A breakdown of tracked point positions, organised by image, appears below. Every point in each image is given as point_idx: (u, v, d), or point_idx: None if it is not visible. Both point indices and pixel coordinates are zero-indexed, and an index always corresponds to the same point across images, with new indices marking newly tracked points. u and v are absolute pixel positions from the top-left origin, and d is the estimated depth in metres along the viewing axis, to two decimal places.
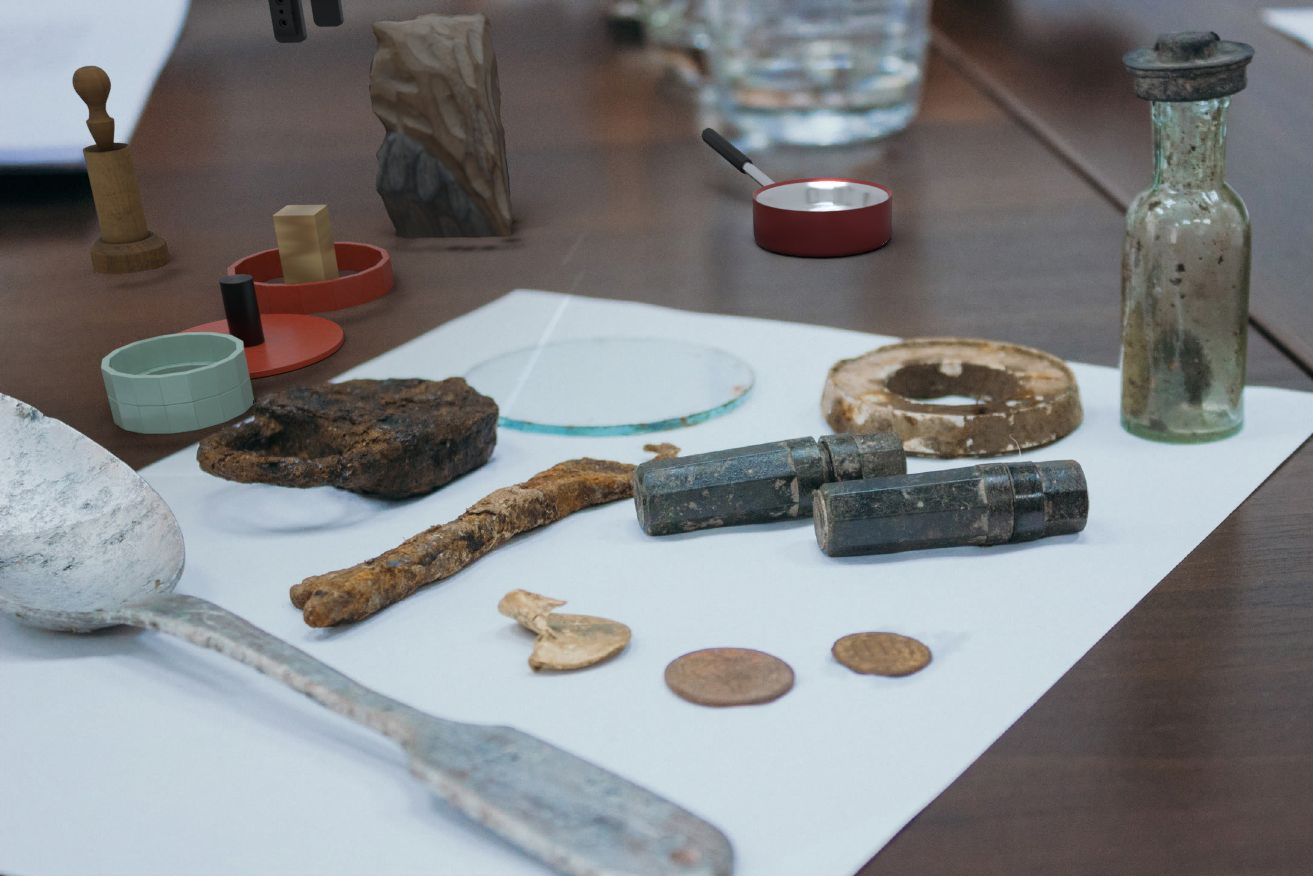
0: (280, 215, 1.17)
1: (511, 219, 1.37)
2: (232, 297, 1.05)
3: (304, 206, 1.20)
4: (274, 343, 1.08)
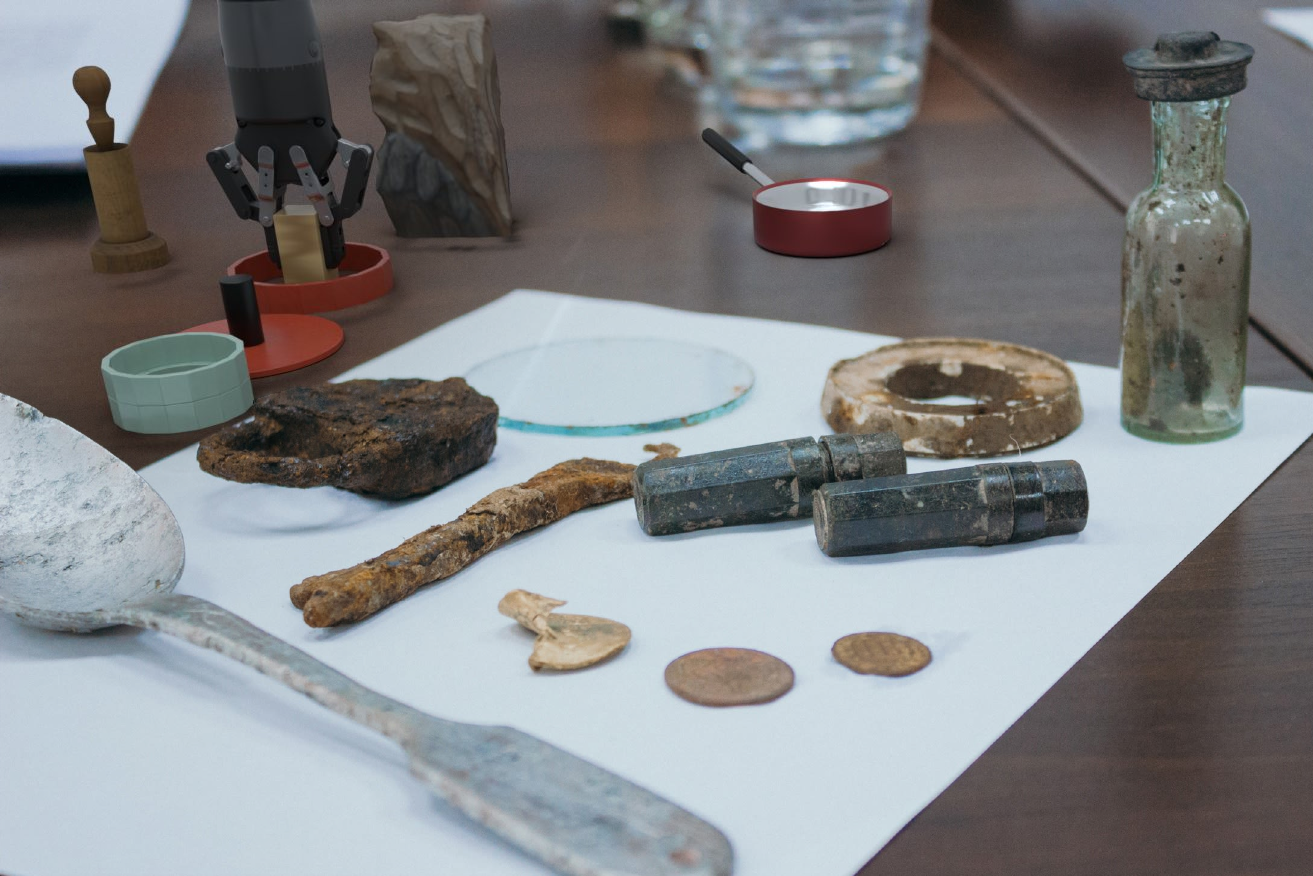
0: (280, 215, 1.17)
1: (511, 219, 1.37)
2: (232, 297, 1.05)
3: (304, 206, 1.20)
4: (274, 343, 1.08)
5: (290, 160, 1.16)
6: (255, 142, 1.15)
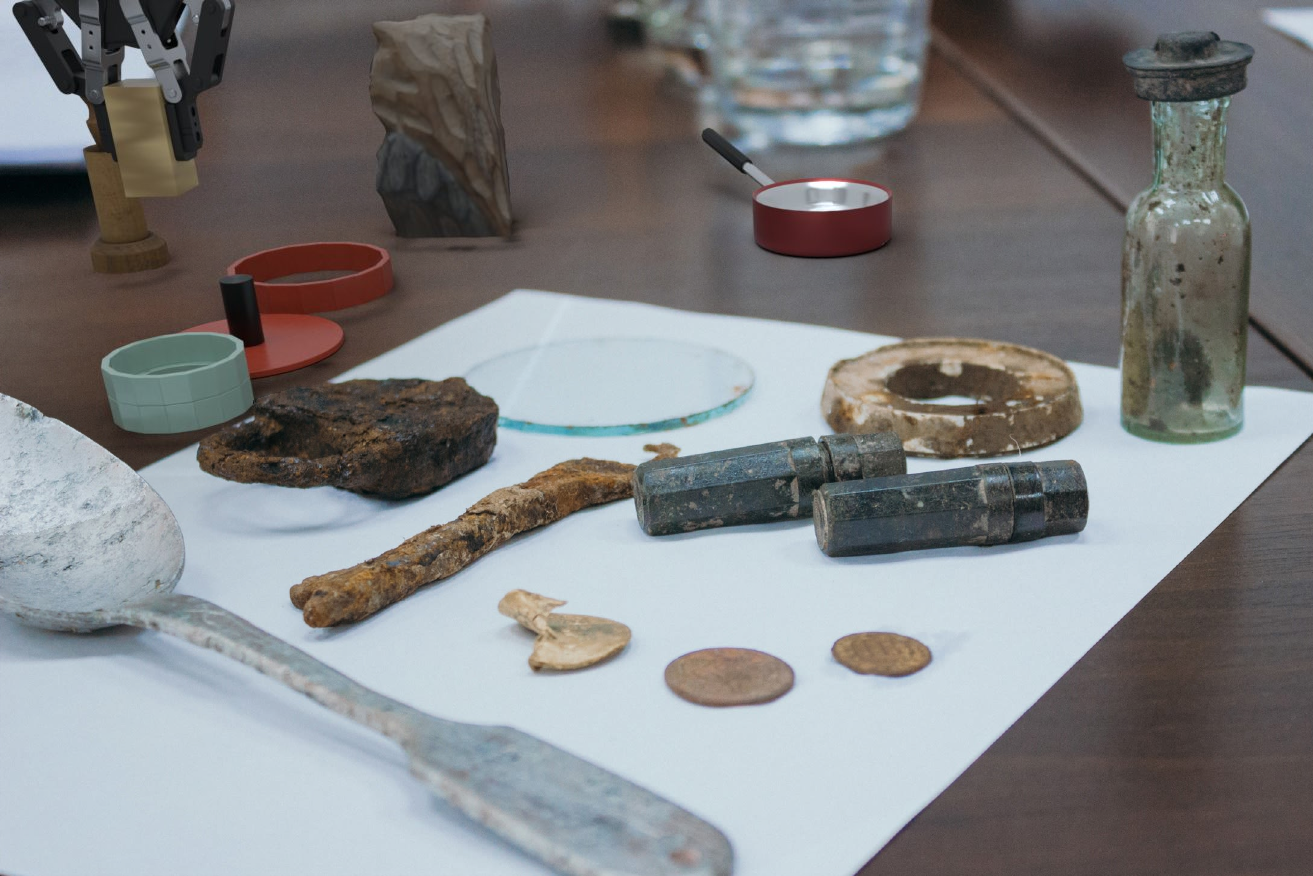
0: (112, 87, 0.90)
1: (511, 219, 1.37)
2: (232, 297, 1.05)
3: (147, 79, 0.93)
4: (274, 343, 1.08)
5: (122, 14, 0.89)
6: None
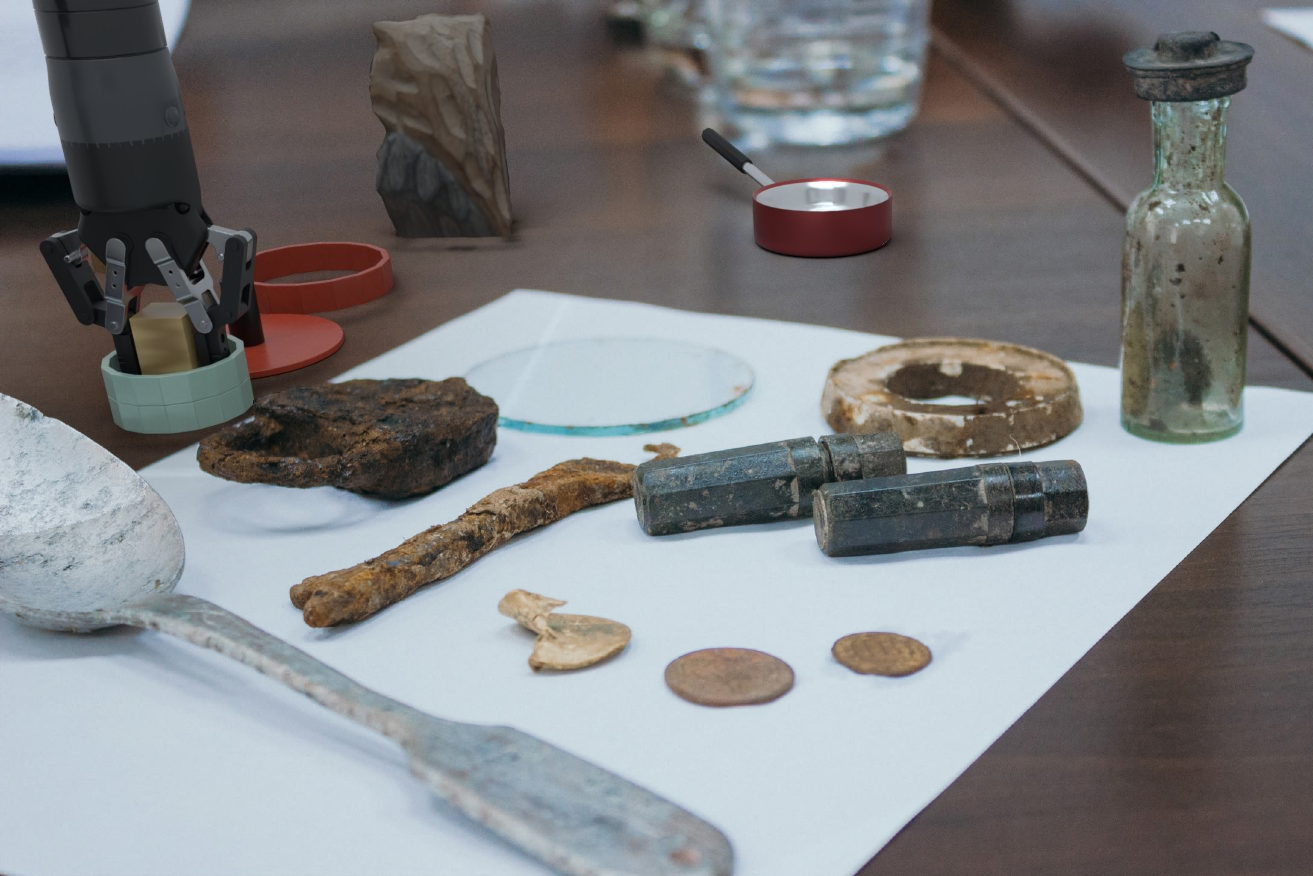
0: (139, 318, 0.93)
1: (511, 219, 1.37)
2: None
3: (172, 304, 0.96)
4: (274, 343, 1.08)
5: (148, 255, 0.92)
6: (103, 232, 0.91)
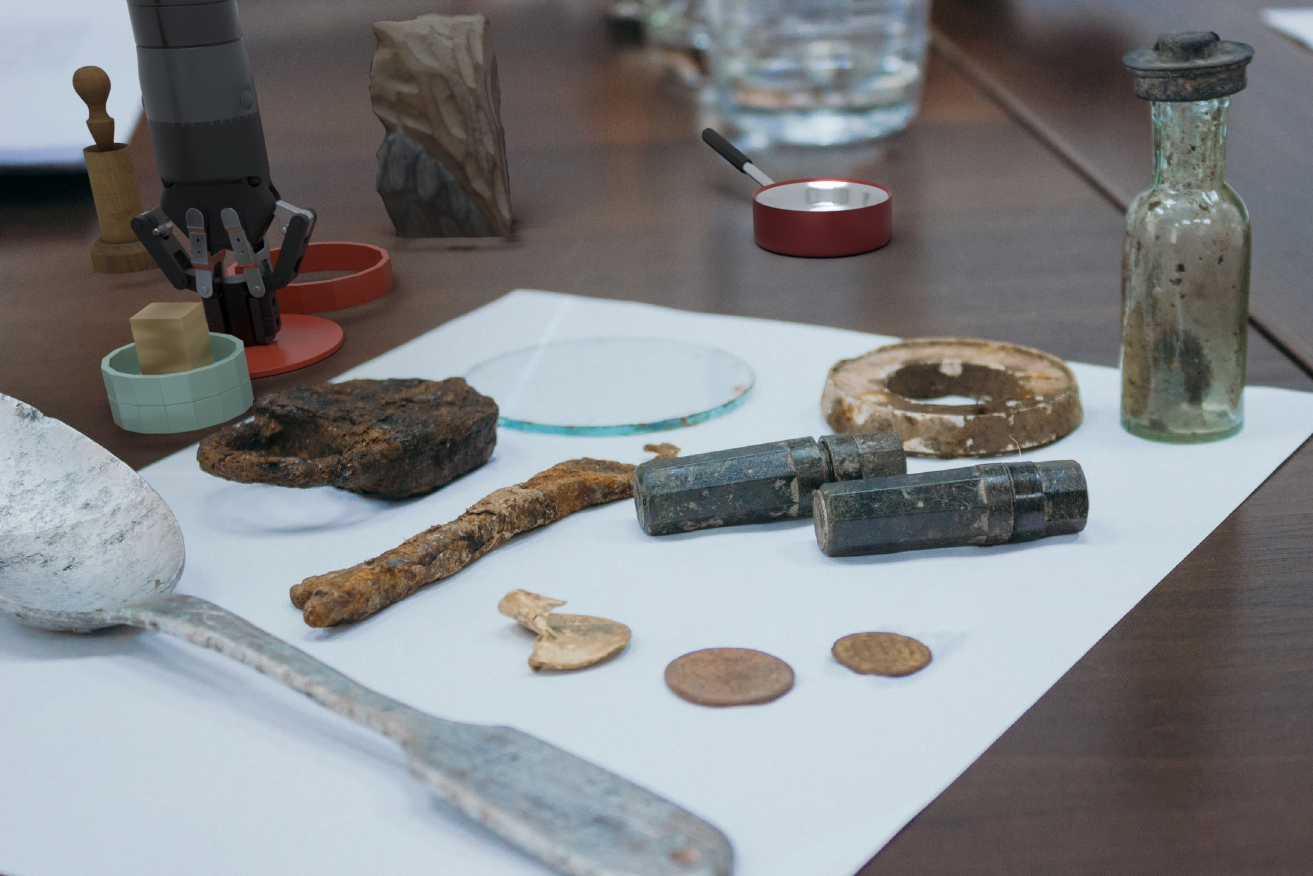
0: (139, 318, 0.93)
1: (511, 219, 1.37)
2: (232, 297, 1.05)
3: (172, 304, 0.96)
4: (274, 343, 1.08)
5: (222, 223, 1.03)
6: (183, 203, 1.03)
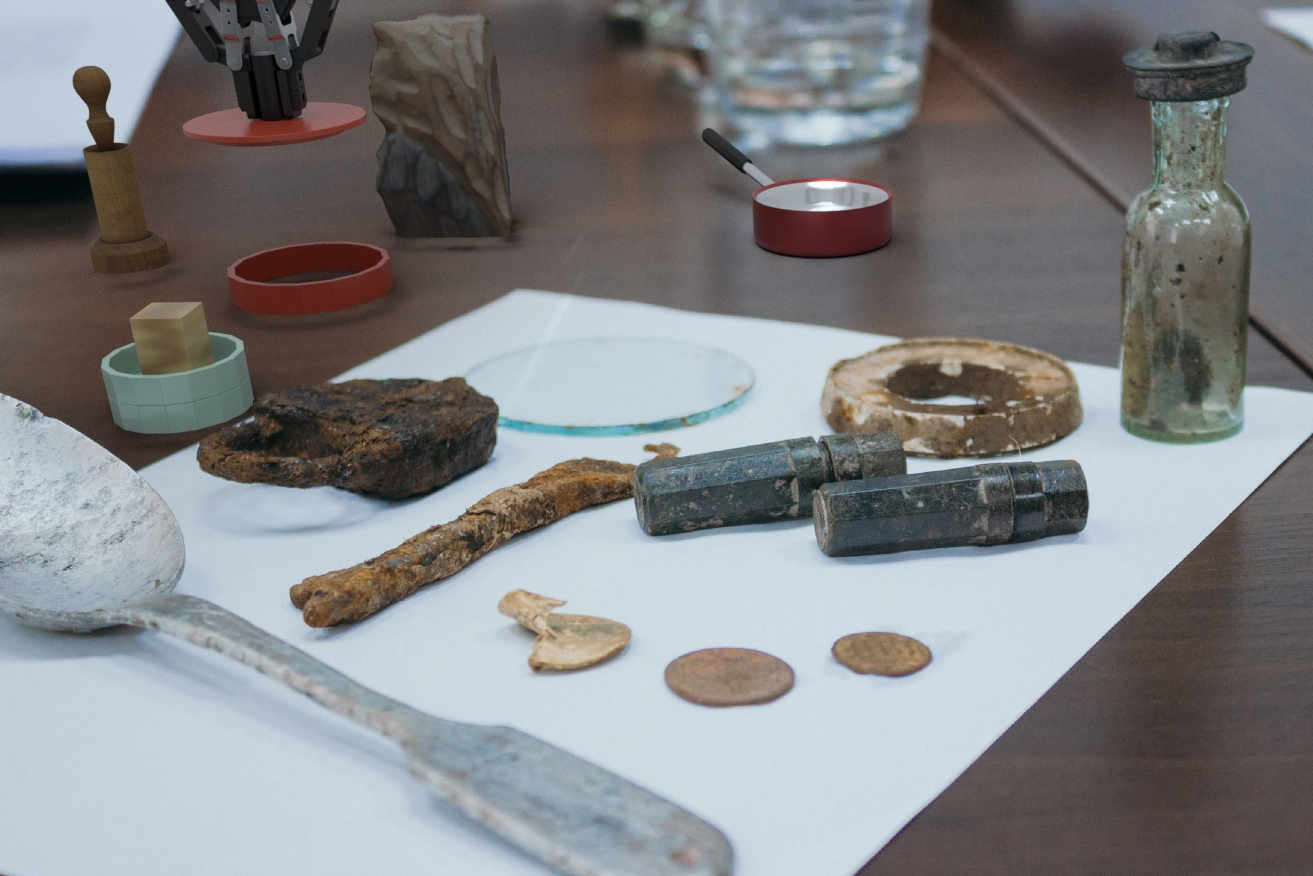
0: (139, 318, 0.93)
1: (511, 219, 1.37)
2: (261, 69, 1.11)
3: (172, 304, 0.96)
4: (300, 118, 1.13)
5: None
6: None
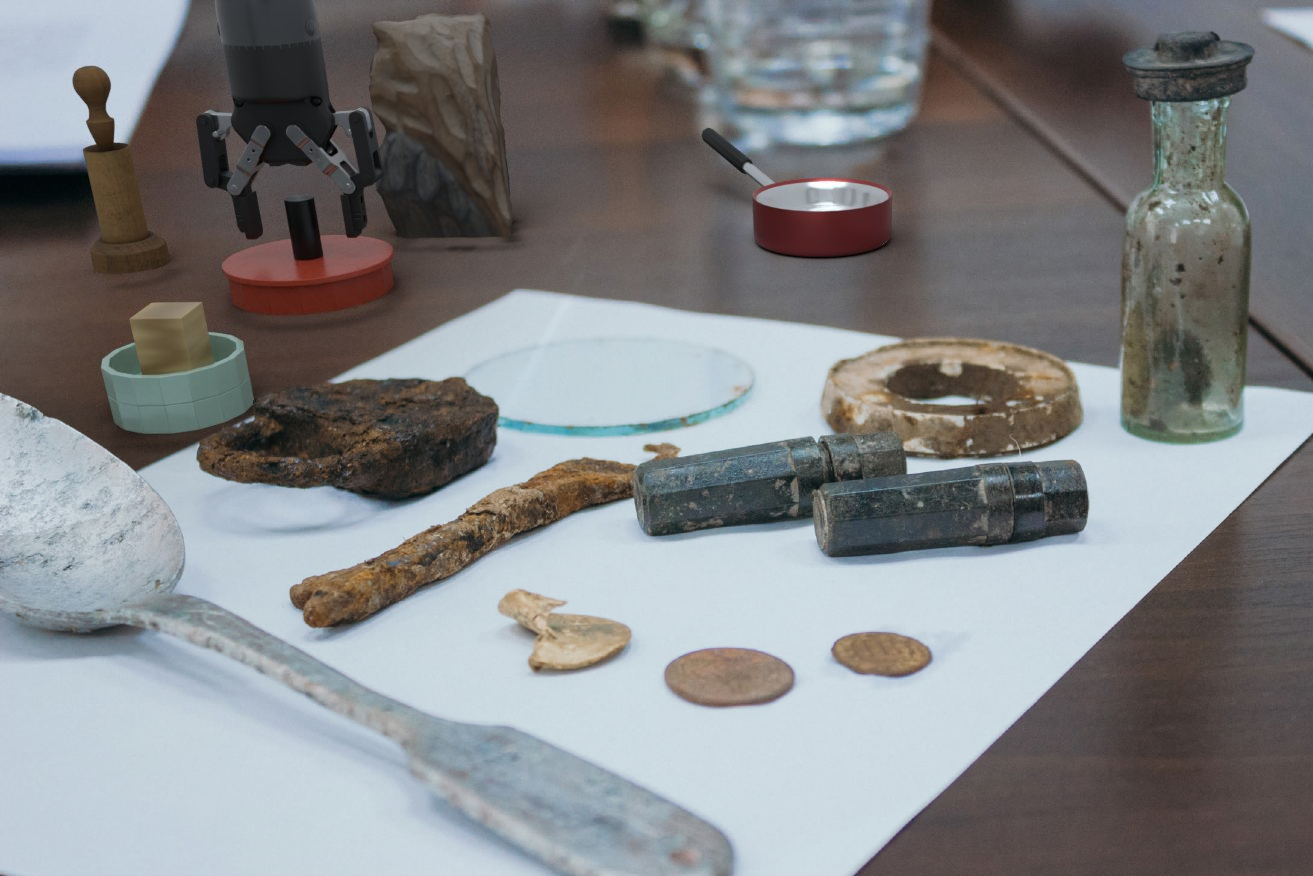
0: (139, 318, 0.93)
1: (511, 219, 1.37)
2: (296, 214, 1.18)
3: (172, 304, 0.96)
4: (332, 257, 1.20)
5: (287, 140, 1.15)
6: (251, 122, 1.15)
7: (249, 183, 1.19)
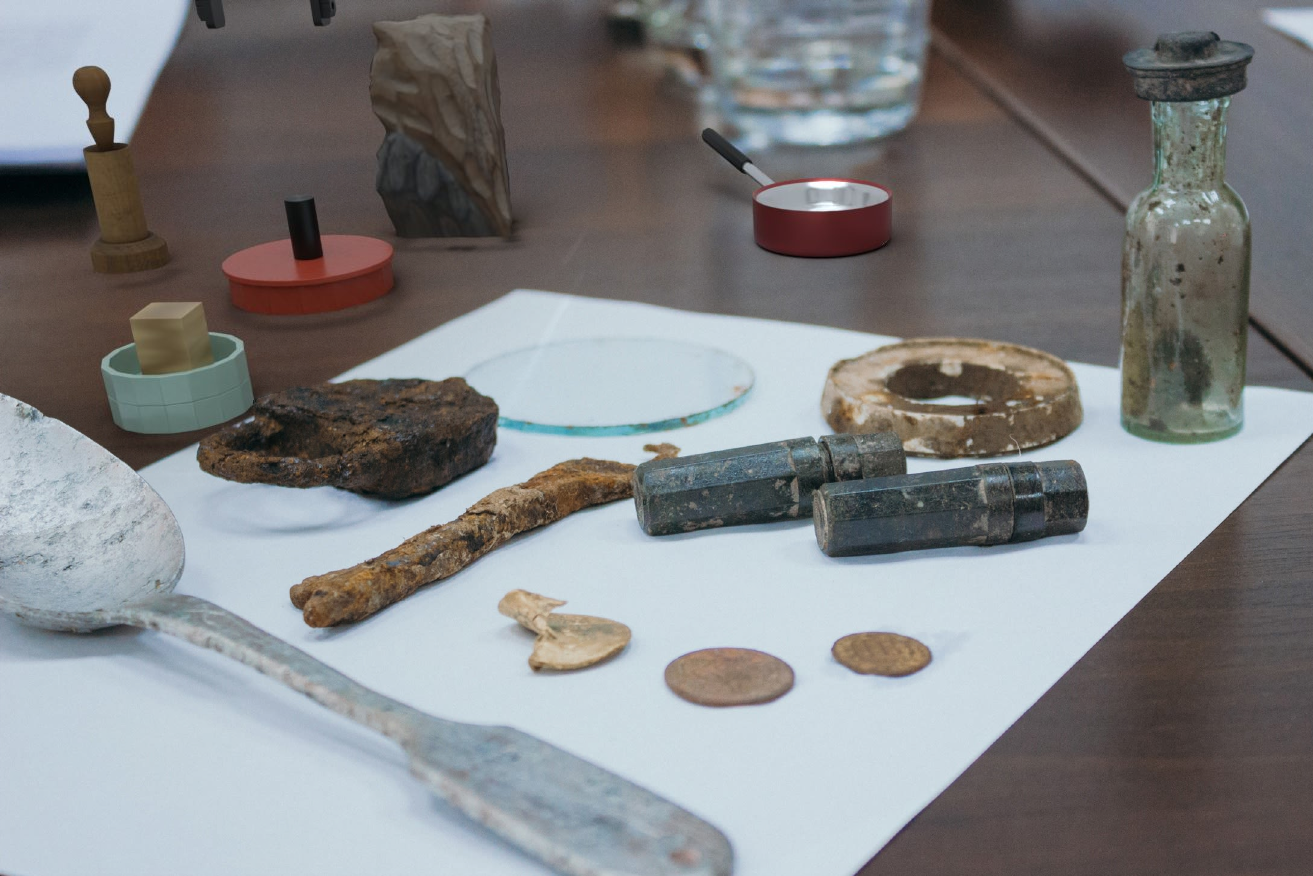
0: (139, 318, 0.93)
1: (511, 219, 1.37)
2: (296, 214, 1.18)
3: (172, 304, 0.96)
4: (332, 257, 1.20)
5: None
6: None
7: None
